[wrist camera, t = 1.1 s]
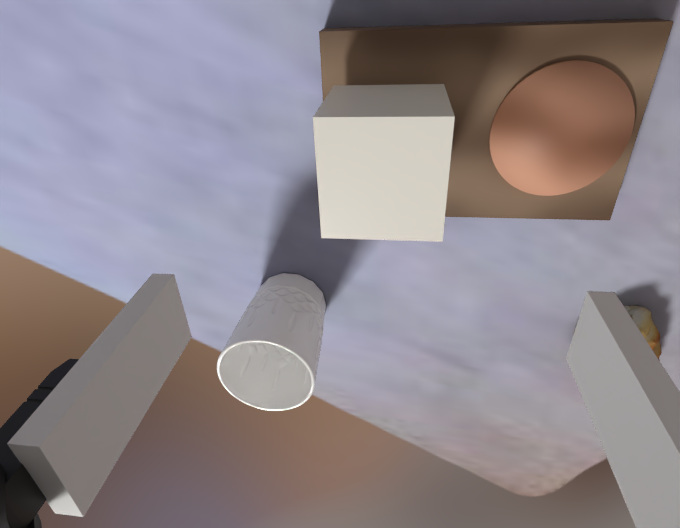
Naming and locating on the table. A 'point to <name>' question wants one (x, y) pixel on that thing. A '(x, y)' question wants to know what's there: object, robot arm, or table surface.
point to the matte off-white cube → (383, 161)
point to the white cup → (276, 345)
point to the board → (520, 104)
